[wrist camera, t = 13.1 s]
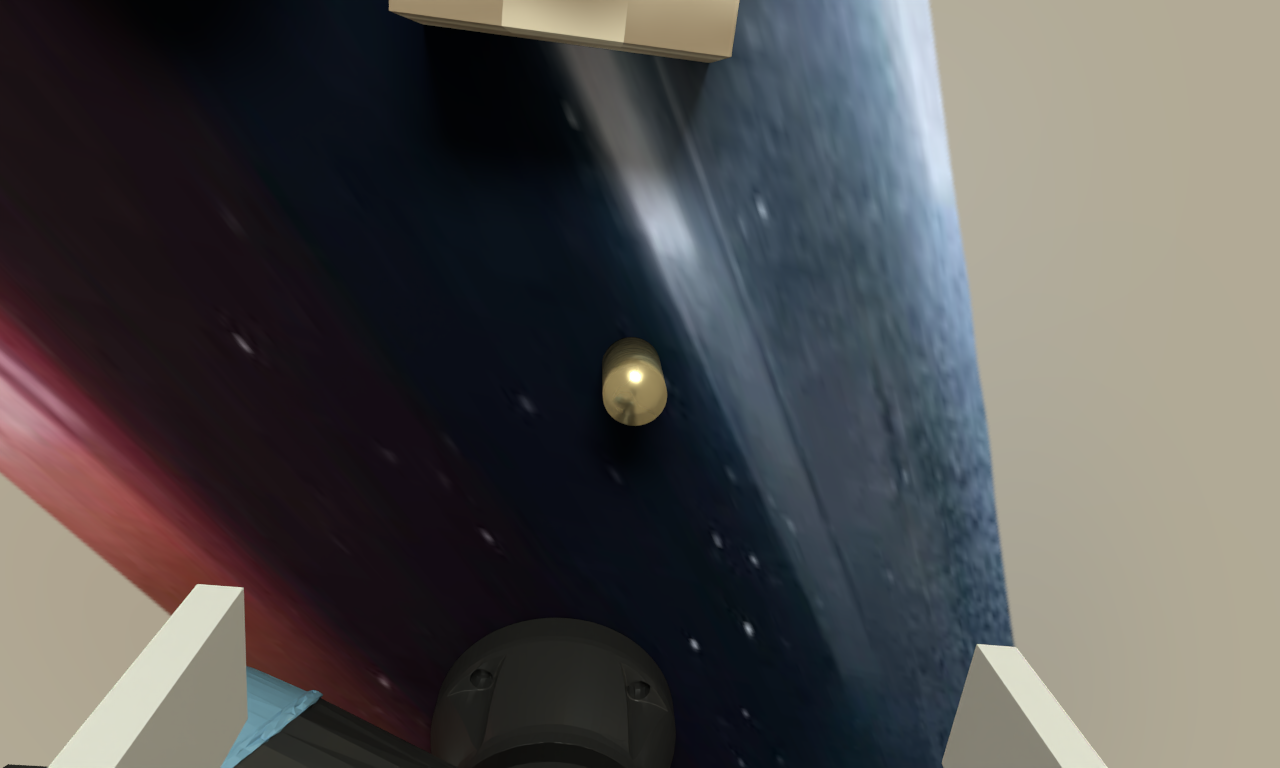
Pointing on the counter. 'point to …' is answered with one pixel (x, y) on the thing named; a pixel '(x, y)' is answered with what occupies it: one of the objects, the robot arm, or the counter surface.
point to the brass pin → (633, 382)
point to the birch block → (594, 23)
